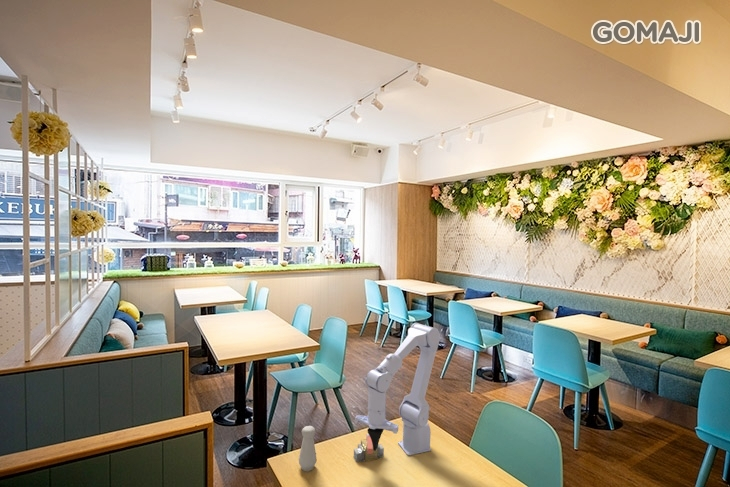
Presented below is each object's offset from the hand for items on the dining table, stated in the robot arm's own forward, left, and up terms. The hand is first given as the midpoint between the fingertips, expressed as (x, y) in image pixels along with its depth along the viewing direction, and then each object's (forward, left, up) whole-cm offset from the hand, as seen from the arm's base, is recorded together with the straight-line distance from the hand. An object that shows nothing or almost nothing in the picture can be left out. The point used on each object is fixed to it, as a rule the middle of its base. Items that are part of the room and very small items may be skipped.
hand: (375, 448), depth 118 cm
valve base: (0, -6, -6) cm, 9 cm away
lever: (+1, -3, 0) cm, 3 cm away
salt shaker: (+21, -7, -6) cm, 23 cm away
